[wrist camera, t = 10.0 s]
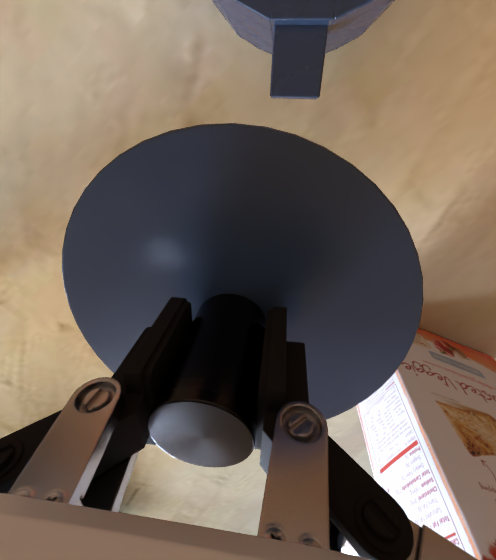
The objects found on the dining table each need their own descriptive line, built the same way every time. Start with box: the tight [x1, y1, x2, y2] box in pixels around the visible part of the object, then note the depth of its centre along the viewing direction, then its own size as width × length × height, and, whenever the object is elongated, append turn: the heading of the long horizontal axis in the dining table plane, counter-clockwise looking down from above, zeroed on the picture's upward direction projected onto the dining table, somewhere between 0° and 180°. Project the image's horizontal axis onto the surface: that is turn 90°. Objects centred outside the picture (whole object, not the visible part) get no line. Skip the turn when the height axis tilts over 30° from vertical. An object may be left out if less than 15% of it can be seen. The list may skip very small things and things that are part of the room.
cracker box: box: [357, 328, 496, 560], centre depth 21 cm, size 14×6×21 cm, turn 70°
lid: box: [62, 123, 423, 467], centre depth 10 cm, size 15×15×6 cm
